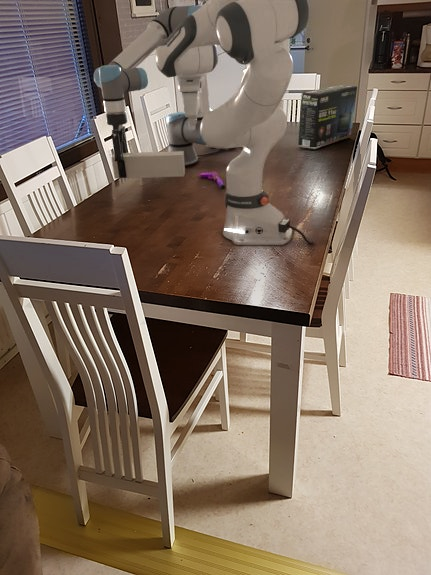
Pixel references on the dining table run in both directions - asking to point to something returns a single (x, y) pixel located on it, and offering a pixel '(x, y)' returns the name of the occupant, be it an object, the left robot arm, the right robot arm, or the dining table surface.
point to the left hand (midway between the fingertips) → (124, 174)
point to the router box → (326, 115)
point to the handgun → (213, 176)
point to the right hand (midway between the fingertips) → (193, 126)
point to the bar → (152, 164)
